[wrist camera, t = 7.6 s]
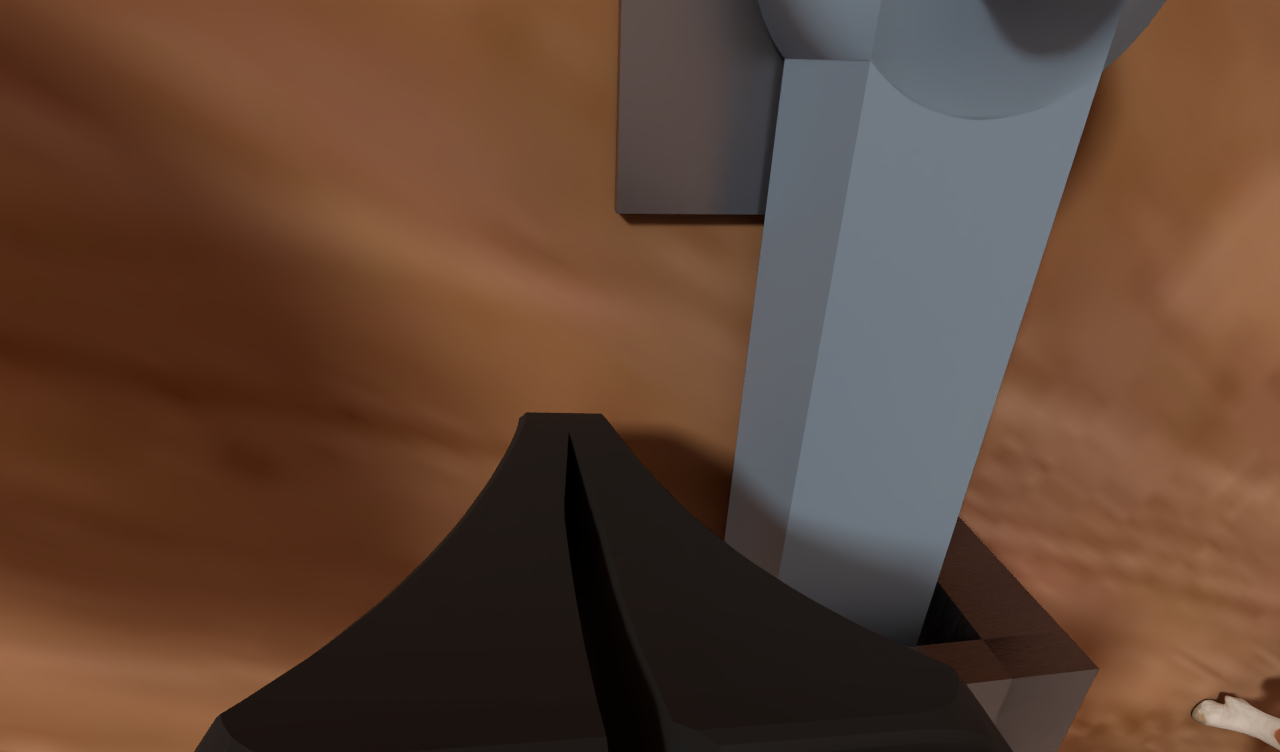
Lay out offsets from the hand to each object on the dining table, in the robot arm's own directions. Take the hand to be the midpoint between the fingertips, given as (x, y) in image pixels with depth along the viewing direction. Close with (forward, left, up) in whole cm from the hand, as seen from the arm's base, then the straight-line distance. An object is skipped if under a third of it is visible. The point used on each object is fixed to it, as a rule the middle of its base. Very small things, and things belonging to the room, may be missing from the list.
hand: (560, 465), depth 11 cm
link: (+5, +2, -2) cm, 6 cm away
